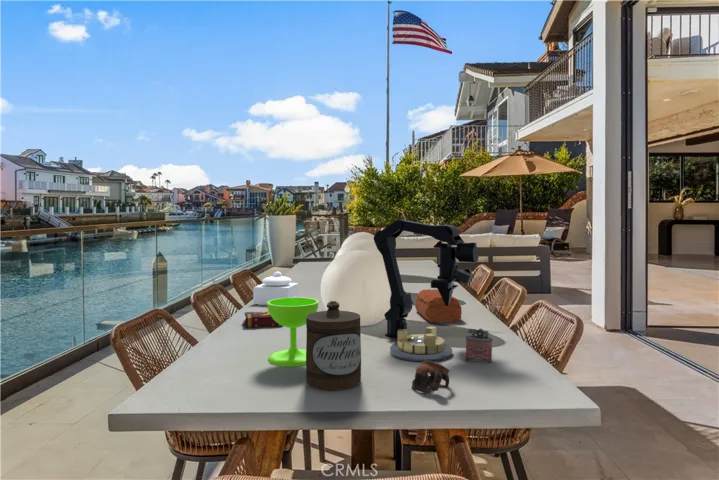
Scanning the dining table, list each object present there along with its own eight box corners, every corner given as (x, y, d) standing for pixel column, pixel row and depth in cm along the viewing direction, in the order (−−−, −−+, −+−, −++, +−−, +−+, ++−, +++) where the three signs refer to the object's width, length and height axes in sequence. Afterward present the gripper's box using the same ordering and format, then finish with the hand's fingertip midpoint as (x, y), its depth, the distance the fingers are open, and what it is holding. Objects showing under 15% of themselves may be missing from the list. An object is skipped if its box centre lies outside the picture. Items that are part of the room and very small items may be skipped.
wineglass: (277, 369, 151) (276, 308, 150) (261, 355, 165) (260, 299, 164) (327, 362, 158) (327, 303, 157) (307, 349, 172) (307, 295, 171)
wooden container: (316, 394, 130) (316, 308, 129) (299, 377, 144) (298, 298, 143) (370, 386, 136) (370, 303, 135) (348, 370, 150) (348, 295, 149)
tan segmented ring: (428, 356, 158) (428, 338, 157) (388, 348, 167) (388, 331, 167) (455, 345, 170) (455, 329, 170) (417, 338, 180) (417, 322, 180)
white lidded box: (253, 305, 254) (253, 272, 253) (266, 298, 272) (265, 268, 271) (287, 306, 251) (287, 273, 250) (298, 299, 269) (298, 269, 268)
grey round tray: (378, 355, 165) (378, 342, 165) (407, 342, 182) (407, 330, 182) (437, 365, 154) (437, 351, 154) (461, 350, 171) (461, 337, 171)
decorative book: (283, 326, 207) (283, 314, 207) (242, 329, 203) (242, 316, 203) (281, 321, 218) (281, 309, 218) (241, 323, 214) (241, 311, 214)
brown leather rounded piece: (404, 386, 138) (415, 357, 140) (435, 400, 139) (445, 371, 142) (420, 389, 127) (431, 357, 129) (453, 404, 128) (464, 373, 130)
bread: (446, 310, 241) (446, 287, 240) (464, 322, 214) (464, 297, 214) (413, 311, 239) (413, 288, 239) (427, 323, 213) (427, 298, 212)
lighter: (492, 361, 159) (493, 328, 159) (491, 364, 156) (492, 331, 155) (466, 358, 162) (466, 326, 161) (464, 361, 159) (465, 329, 158)
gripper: (463, 264, 168) (462, 312, 169) (477, 259, 184) (476, 303, 185) (430, 263, 173) (429, 309, 174) (447, 258, 190) (446, 300, 190)
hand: (447, 305), depth 181 cm, fingers closed
